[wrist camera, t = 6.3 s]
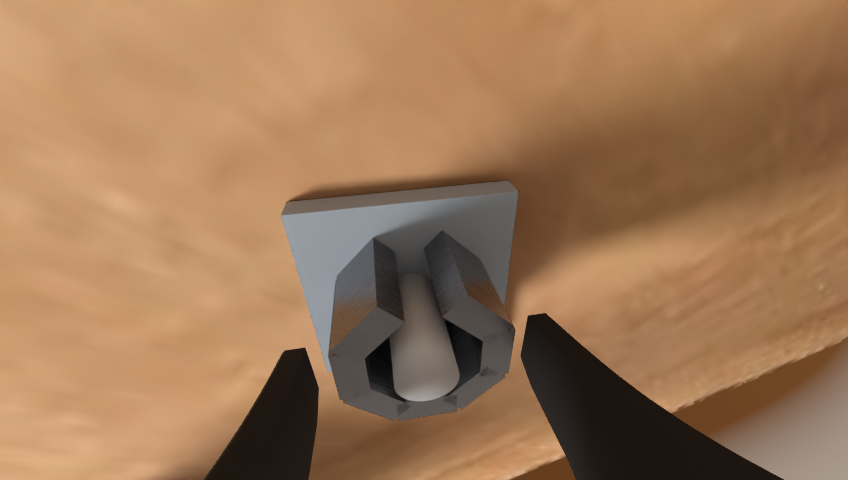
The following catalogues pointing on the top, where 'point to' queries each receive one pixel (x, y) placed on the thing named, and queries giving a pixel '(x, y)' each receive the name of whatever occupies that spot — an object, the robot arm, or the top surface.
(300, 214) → the post stand
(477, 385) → the snap ring
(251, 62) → the top surface
